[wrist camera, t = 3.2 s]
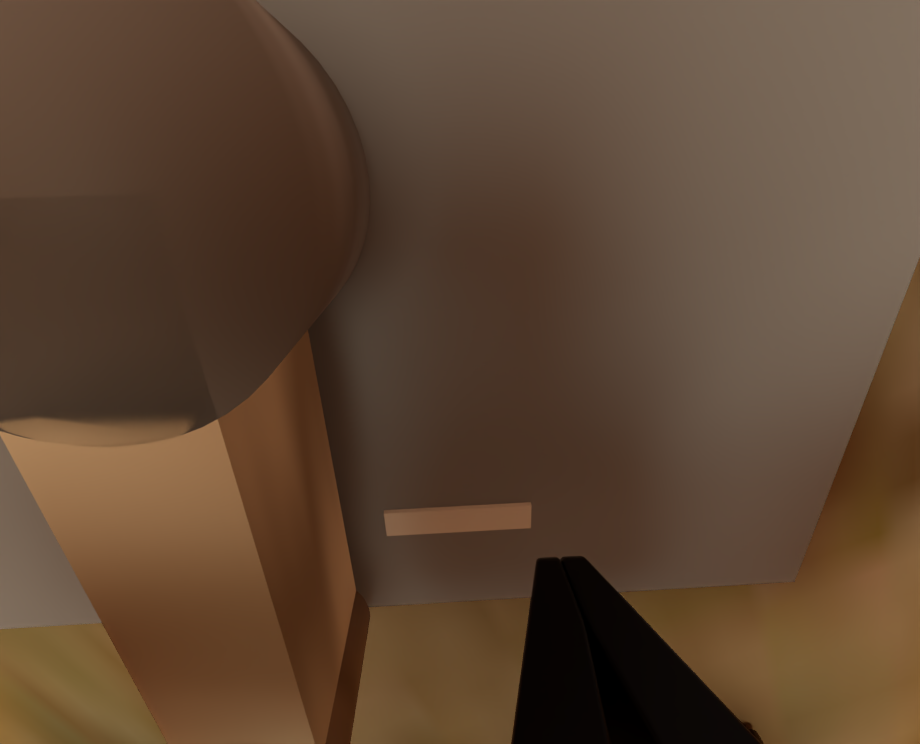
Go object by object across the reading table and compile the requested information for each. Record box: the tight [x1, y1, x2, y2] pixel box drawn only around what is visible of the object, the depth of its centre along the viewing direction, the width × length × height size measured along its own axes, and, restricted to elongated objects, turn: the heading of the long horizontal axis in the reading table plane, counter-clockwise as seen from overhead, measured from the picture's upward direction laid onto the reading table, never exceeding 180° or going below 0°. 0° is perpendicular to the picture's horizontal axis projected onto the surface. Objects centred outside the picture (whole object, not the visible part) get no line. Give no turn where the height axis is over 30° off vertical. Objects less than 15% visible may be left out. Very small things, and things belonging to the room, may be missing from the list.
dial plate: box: [0, 0, 920, 629], centre depth 7 cm, size 18×22×2 cm
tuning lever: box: [0, 0, 370, 744], centre depth 6 cm, size 12×4×4 cm, turn 2°
